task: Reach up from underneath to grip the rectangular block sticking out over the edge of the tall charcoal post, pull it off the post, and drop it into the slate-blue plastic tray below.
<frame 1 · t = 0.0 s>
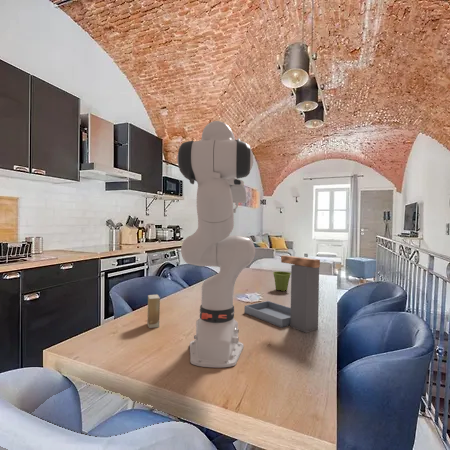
hand: (223, 212, 133), 48 cm above the table, tool pointing down, fingers open, 8 cm apart
plant pot: (281, 290, 190), on the table
rectangular block: (299, 264, 125), point 26 cm above the table, touching post
skincare box: (153, 325, 122), on the table
post: (304, 327, 123), on the table
tray: (274, 316, 136), on the table
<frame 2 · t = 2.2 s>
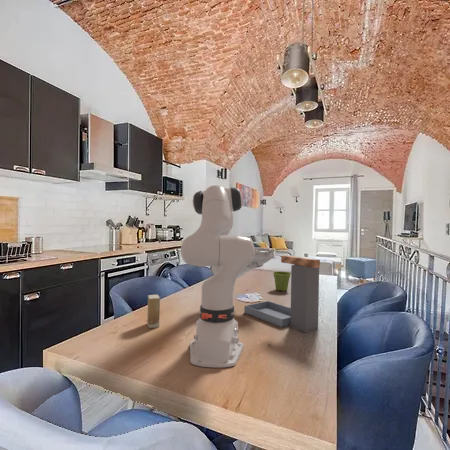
hand: (264, 250, 142), 30 cm above the table, tool pointing upward, fingers open, 8 cm apart
nothing on the table moved.
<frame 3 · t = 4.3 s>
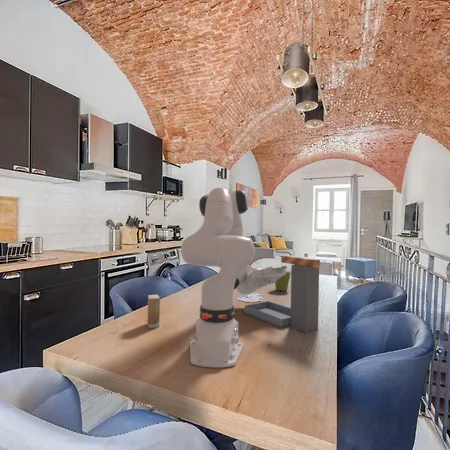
hand: (278, 267, 134), 23 cm above the table, tool pointing upward, fingers open, 8 cm apart
nothing on the table moved.
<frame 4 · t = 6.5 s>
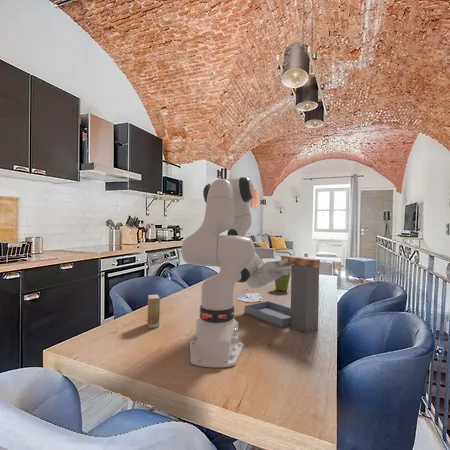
hand: (291, 259, 128), 28 cm above the table, tool pointing upward, fingers closed on rectangular block, 3 cm apart
rectangular block: (299, 264, 125), point 26 cm above the table, touching gripper, post
everything else where it was.
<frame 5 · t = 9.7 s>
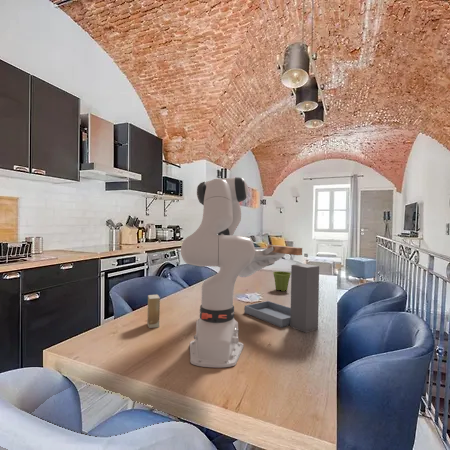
hand: (276, 247, 135), 32 cm above the table, tool pointing upward, fingers closed on rectangular block, 3 cm apart
rectangular block: (283, 253, 132), point 30 cm above the table, touching gripper
everything else where it was.
when the fingers open (21 cm above the table, at t = 13.1 s): rectangular block drops 19 cm, resting on tray.
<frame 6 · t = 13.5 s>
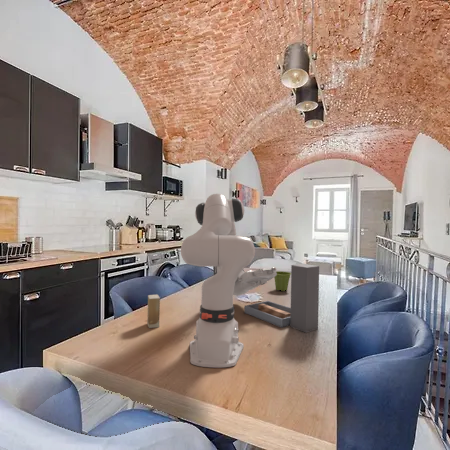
hand: (268, 269, 139), 21 cm above the table, tool pointing upward, fingers open, 7 cm apart
rectangular block: (273, 315, 136), point 1 cm above the table, touching tray
everything else where it was.
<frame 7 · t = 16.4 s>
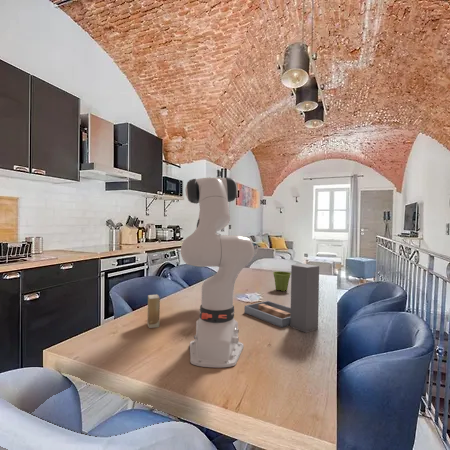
hand: (249, 246, 141), 32 cm above the table, tool pointing upward, fingers open, 8 cm apart
nothing on the table moved.
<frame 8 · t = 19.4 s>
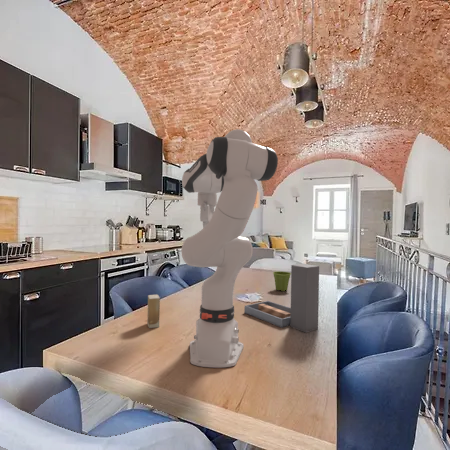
hand: (206, 231, 136), 39 cm above the table, tool pointing down, fingers open, 8 cm apart
nothing on the table moved.
at the end: rectangular block inside the target area on the tray (0.4 cm from its centre), point 0.6 cm above the tray's base; rectangular block touching tray; the gripper is holding nothing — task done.
